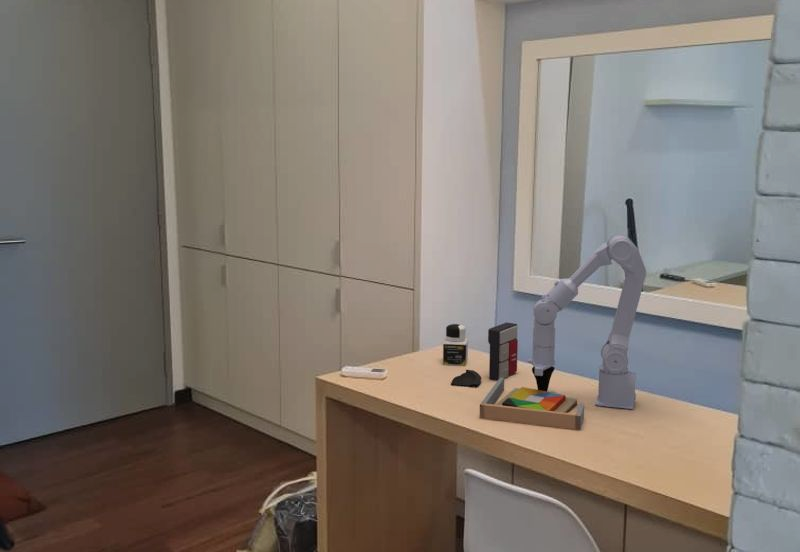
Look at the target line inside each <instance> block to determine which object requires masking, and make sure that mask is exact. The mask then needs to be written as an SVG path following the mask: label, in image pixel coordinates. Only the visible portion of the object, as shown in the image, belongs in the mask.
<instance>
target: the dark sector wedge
mask: <svg viewBox="0 0 800 552" xmlns="http://www.w3.org/2000/svg"><path fill="white" fill-rule="evenodd" d="M481 383H482V376H481V375H480V374H479V373H478V372H477V371H475V370H473V369H472V370H471V369H465V372H463V373H461V374H460V375H457V376H455V377H453V379H452V380H451V382H450V386H453V387H462V388H463V387H464V388H465V387H467V388H475V389H477V388H479V387H480V385H481Z"/></svg>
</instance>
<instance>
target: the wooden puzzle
mask: <svg viewBox="0 0 800 552" xmlns="http://www.w3.org/2000/svg"><path fill="white" fill-rule="evenodd" d="M577 404H578V399H577V398H573V397H567V396H566V395H565V394H562V393H558V392H552V391H551V392H550V391H541V390H538V389H536V388H530V387H525V386H521V387H520V388H518V387H516V388H513V389H512V390H511V391H510V392H508V394H506V395H505V396H504V397H503V398H502V399H500V400H498V402H497V403H495V404H494V405H502V406H511V407H520V408H529V409H537V410H546V411H555V412H564V413H568V411H569V410H570V409H571V408H572V407H573V406H574V405H577Z"/></svg>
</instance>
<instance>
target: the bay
mask: <svg viewBox="0 0 800 552" xmlns="http://www.w3.org/2000/svg"><path fill="white" fill-rule="evenodd" d="M504 390H505V378H499V380H498V381H496V382H495V384H494V385H493V386H492V388H491V389H490V390H489V392H488V393H487V394H486V395H485V397H484V398H483V400H482V401H481V402H480V404H479V419H484V420H491V421H500V422H509V423H510V422H511V423H517V424H518V423H519V424H526V425H534V426H542V427H551V428H558V429H559V428H560V429H566V430H567V429H568V430H575V431H581V428H582V425H583V423H584V418H585V404H584V403H583V404H582V403H578V407H577V410H576V412H575V413H572V412H566V413H564V412H555V411H546V410H537V409H529V408H520V407H511V406H502V405H495V404H496V402H497V401H499V400H498V399H499V398H500V397H501V395H502V394H503V393H504V392H505V391H504Z"/></svg>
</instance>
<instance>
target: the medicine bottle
mask: <svg viewBox="0 0 800 552" xmlns="http://www.w3.org/2000/svg"><path fill="white" fill-rule="evenodd" d="M468 348H469V339H468V338H467V337H466V326H465V325H463V324H461V323H460V324H459V323H453V324H452V323H451V324H449V325H447V326H445V339H444V340H443V343H442V349H443V350H442V365H443V366H458V367H459V366H460V367H461V366H462V367H466V366H467V362H468V360H469V359H468V358H469V357H468V355H469V349H468Z"/></svg>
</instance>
